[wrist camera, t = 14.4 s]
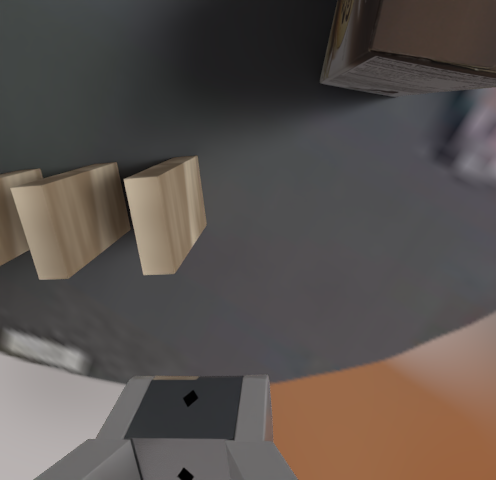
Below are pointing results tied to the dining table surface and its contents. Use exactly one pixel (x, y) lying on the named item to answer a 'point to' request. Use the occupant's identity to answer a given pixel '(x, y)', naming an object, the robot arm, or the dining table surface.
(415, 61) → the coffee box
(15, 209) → the domino
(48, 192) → the domino
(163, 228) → the domino
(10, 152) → the dining table surface
